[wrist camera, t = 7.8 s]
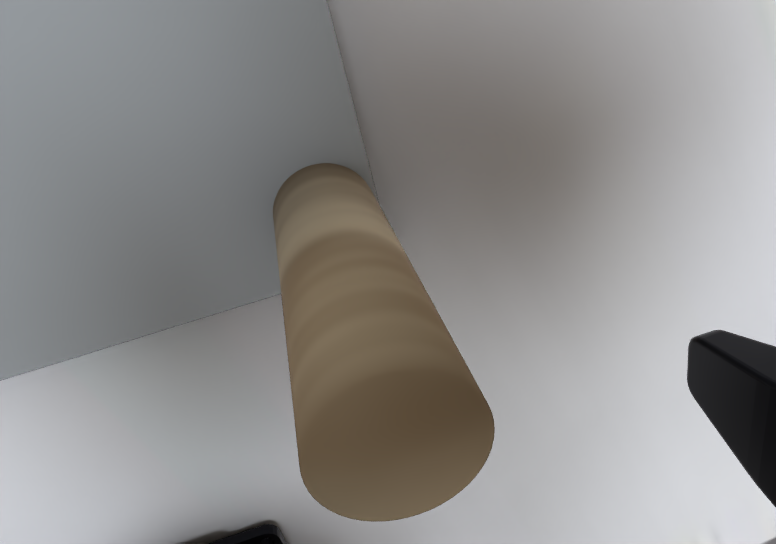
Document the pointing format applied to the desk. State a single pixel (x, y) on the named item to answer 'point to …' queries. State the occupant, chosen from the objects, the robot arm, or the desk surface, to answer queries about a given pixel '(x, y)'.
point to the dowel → (369, 358)
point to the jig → (153, 161)
